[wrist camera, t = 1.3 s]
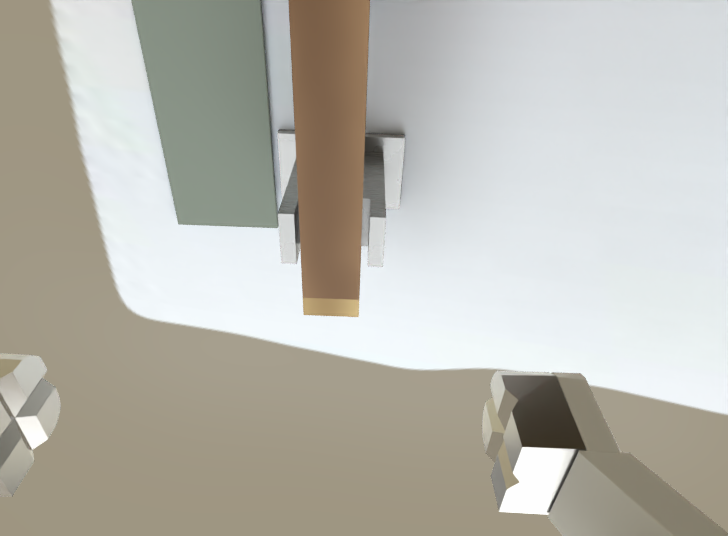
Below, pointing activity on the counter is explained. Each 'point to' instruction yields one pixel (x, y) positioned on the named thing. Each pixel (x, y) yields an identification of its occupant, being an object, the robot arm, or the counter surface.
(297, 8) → the rail
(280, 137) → the post
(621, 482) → the robot arm
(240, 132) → the mat
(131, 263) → the counter surface
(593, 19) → the counter surface
